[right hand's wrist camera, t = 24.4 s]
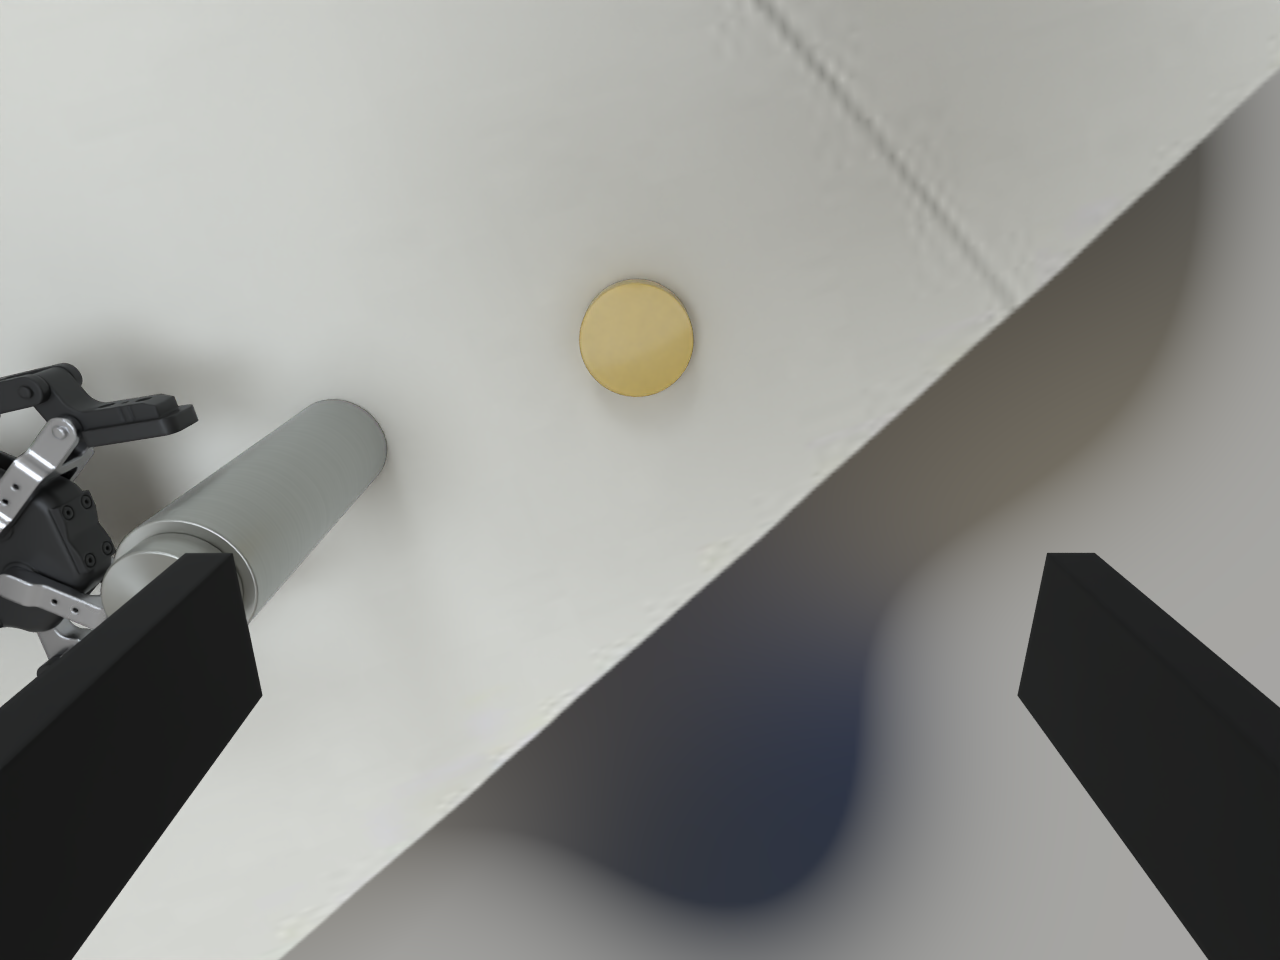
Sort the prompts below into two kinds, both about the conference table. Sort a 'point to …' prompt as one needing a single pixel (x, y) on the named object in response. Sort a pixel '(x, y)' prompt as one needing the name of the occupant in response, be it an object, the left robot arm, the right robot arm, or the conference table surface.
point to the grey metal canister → (260, 505)
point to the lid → (636, 338)
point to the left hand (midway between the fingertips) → (221, 510)
